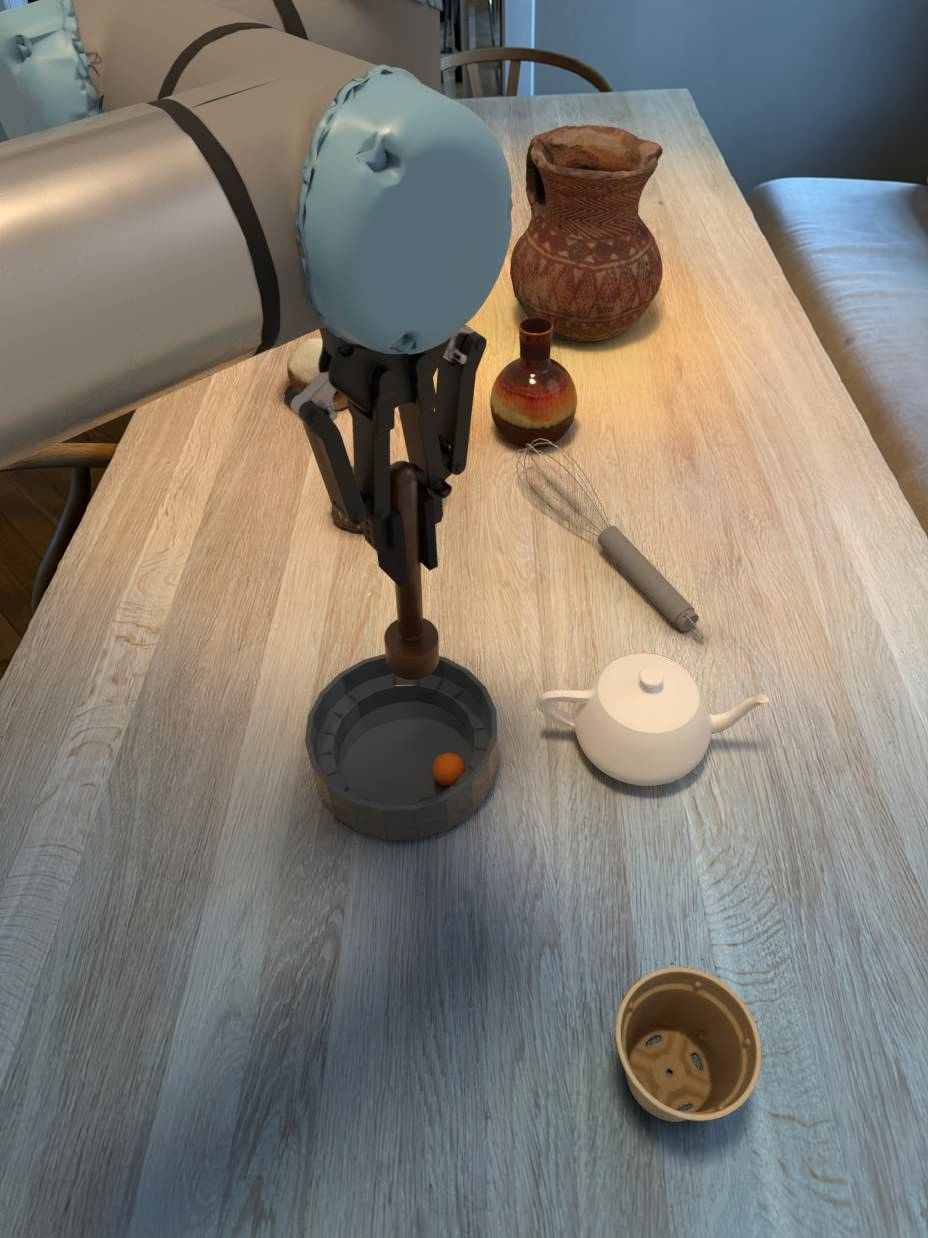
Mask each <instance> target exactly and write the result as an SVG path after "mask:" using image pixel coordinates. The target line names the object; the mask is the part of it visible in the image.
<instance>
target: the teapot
mask: <svg viewBox="0 0 928 1238" xmlns="http://www.w3.org/2000/svg"><path fill="white" fill-rule="evenodd" d="M555 702H556V703H557V702H562V703H563V702H567V703H575V704H576V707H575V709H574V715H573V716H572V715H570V713H569V712H567V711H565V710H563V709H561V708H559V707H557V706H556V705H555V704H554V703H555ZM767 703H770V698H769V696H768V695H767V694H764V693H754V694H752V695H751V696H749V697H748V698H745V699H743V701H741V702H740V703H738V704H736V705H735V706H734V707H732V708H731V709H730V710H727V711H725V712H720V713H716V714H712V713H711V712H710V710H709V708H708V705H707V702H706V699H705V695H704V693H703V690H702V688H701V686H700V684H699V682H698V681H697V680H696V679H695V677H694V676H693V675H692V674H691V673H690V672H689V671H688V670H687V669H686V668H685V667H684V666H682V664H680V663H679V662H677V661H675V660H673V659H671V658H669V657H667V656H665V655H660V654H658V653H657V654H656V653H652V652H651V653H649V652H637V653H636V652H635V653H630V654H625V655H623V656H620V657H617V658H616V659H614V660H612V661H611V662H609V663H608V664H606V665H605V666H603V668H601V669H600V670H599V671H598V672H597V673H596V674H595V676H594V677H593V678H592V679H591V681H590V682H589V683H588V684H587V686H586V688H584V689H583V690H582V689H581V690H575V689H554V690H549V691H545V692H544V693H542V695H541V696H540V699H539V710H540V712H541V714H542V715H543V716H544V717H545V718H547V719H548V720H550V721H552V722H554V723H555V724H557V725H558V726H561V727H567V728H571V729H574V731H575V735H576V738H577V739H576V740H577V742H578V744H579V746H580V748H581V751H583V753H584V754H585V756H586V757H587V758H588V760H589V761H590V762H591V764H593V765H594V766H595V767H596V768H597V769H598V770H600V771H601V772H603V773H604V775H607V776H609V777H610V778H612V779H614V780H617V781H620V782H622V783H625V784H630V785H633V786H640V787H643V786H644V787H653V786H663V785H666V784H669V783H672V782H675V781H677V780H679V779H682V778H683V777H686V776H687V775H688V774H689V773H691V772H692V771H693V770H694V769H695V768H696V767H697V766H698V765H699V764H700V763H701V761H702V760H703V758H704V756H705V755H706V753H707V750H708V747H709V745H710V741H711V736H712V735H715V734H719V733H722V732H724V731H726V730H728V729H729V728H731V727H733V726H734V725H736V723H738V722H739V721H740V720H742V719H743V718H744V717H745V716H746V715H747V714H748V713H749V712H750V711H752V710H753V709H755V708H756V707H758V706H761V705H763V704H767Z"/></svg>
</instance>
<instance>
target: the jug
mask: <svg viewBox="0 0 928 1238" xmlns="http://www.w3.org/2000/svg"><path fill="white" fill-rule="evenodd" d="M663 151H664V149H663V147H662V146H661V144H659V143H658V142H654V141H651V140H647V139H643V138H639V137H638V136H637V135H635V134H633V133H631V132H629V131H627V130H625V129H622V128H620V127H615V126H606V125H592V124H585V125H579V126H577V125H564V126H559V127H556V128H553V129H550V130H548V131H546V132H545V131H544V132H543V133H539V134H535V135H534V136H533V137H532V139H531V140H530V142H529V145H528V147H527V153H526V155H525V156H526V159H525V162H526V163H525V183H526V184H525V194H526V198H527V201H528V204H529V206H530V211H531V212H530V221H529V224H528V226H527V227H526V229H525V231H524V232H523V233H522V234H521V236H520V237H519V238H518V239H517V241H516V243H515V245H514V247H513V249H512V253H511V257H510V265H509V267H510V268H509V275H510V280H511V285H512V290H513V295H514V298H515V299H516V301H517V302H518V305H519V306H520V308H521V310H522V311H523V312H524V315H526V316H527V317H526V318H528V317H535V316H536V317H544V318H547V319H549V320H550V321H551V322H552V323H553V334H552V337H556V338H561V339H565V340H571V341H575V342H598V341H604V340H607V339H611V338H614V337H616V336H617V335H621V334H622V333H624V332H625V331H627V330H628V329H629V328H630V327H632V326H633V325H634V324H635V323H636V322H637V321H638V320H639V319H640V318H642V316H643V315H644V313H645V312H646V311H647V310H648V309H649V308H650V306H651V304H653V301H655V300H654V299H655V298H656V296H657V295H658V292H659V291H660V286H661V284H662V280H663V274H664V273H663V272H664V271H663V260H662V255H661V252H660V249H659V246H658V243H657V241H656V238H655V236H654V234H653V233H652V232H651V230H650V228H649V227H648V226H647V225H646V224H645V222H644V221H643V220H642V218H641V217H640V215H639V205H640V201H641V197H642V194H643V191H644V189H645V187H646V185H647V183H648V182H649V180H650V178H651V177H652V176H653V174H654V173H655V171H656V170H657V168H658V165H659V163H658V162H659V160H660V157H661V156H662V155H663V153H664V152H663Z"/></svg>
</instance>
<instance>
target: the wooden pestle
mask: <svg viewBox="0 0 928 1238" xmlns="http://www.w3.org/2000/svg"><path fill="white" fill-rule="evenodd" d="M390 505H391V506H393V507H394V508H395V509H396V510H397V511H398V512H400V513H401V517H402V527H403V537H404V547H405V557H406V567H407V577H408V583H406V584H404V585H402V586H401V587H399V586H398V585H397V584H396V583H395V582H394V591H395V602H396V603H395V604H396V617H397V619H395V620H394V621H392V622H391V623H390V624H389V625H388V626H387V628H386V629H385V632H384V636H383V643H384V654H386V662H387V666H388V668H389V669H390V671H391V672H392V673H393V674H394V675H396V676H398V677H400V678H402V679H406V680H417V679H422V678H424V677H426V676H428V675H430V674H431V673H432V672H433V671H434V670H435V669H436V667H437V665H438V662H439V656H440V641H439V640H440V637H439V630H438V628H437V626H436V625H435V624H434V623H433V622H432V621H430V620H429V619H428V618H425V617H424V612H423V611H424V610H423V607H424V606H423V586H422V585H423V584H422V563H421V559H420V536H419V512H418V488H417V473H416V470H415V468H414V466H413V465H412V464H410V463H409V461H406V460H397V461H395V462H393V463H391V466H390Z"/></svg>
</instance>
